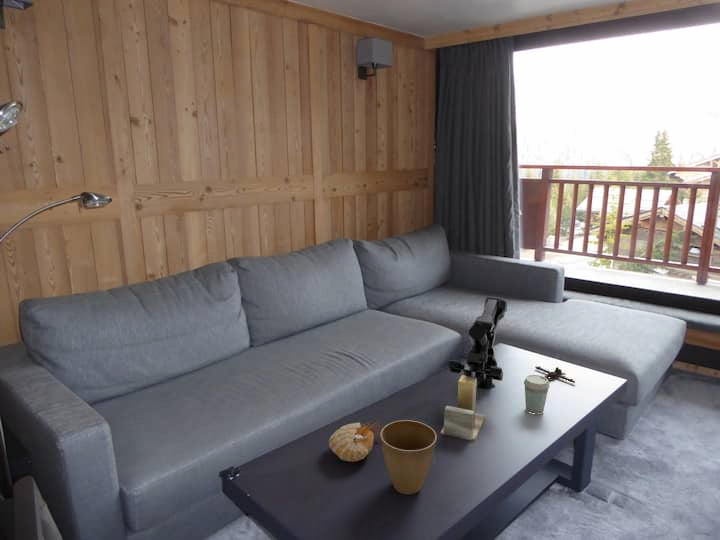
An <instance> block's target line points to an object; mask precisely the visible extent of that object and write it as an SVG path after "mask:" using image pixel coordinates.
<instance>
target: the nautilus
mask: <svg viewBox="0 0 720 540" xmlns="http://www.w3.org/2000/svg"><path fill="white" fill-rule="evenodd" d="M379 422H380V421H379V420H378V421H377V422H375V423H373V424H370V423H371V421H369V422H368V423H364V424H361V422H353V423H348V424H346V425H342V426H341V427H340V428H339V429H336V430H335V432H333V433H332V434H331V436H330V438H329V439H328V446H329V448H330V449H331V450H332V452H333V453H334V454H335V455H336V456H337V457H338V458H339V459H341V460H342V461H345V462H350V463H351V462H352V463H353V462H359V461H361V460H363V459H365V458H366V457H367V455H368V454H369V453H370V452H371V451H372V449H373V446H374V443H375V441H377V440H381V438H377V435H378V434H381V430H382V429H383V428H384V427H385V426H386V425H385V424H383V426H384V427H381V426H380V424H378V423H379ZM367 424H368V425H367ZM374 427H376V428H379V429H381V430H379V429H373V428H374ZM371 429H372V430H371ZM374 431H375V432H374ZM374 440H375V441H374ZM379 443H381V444H382V442H381V441H379Z"/></svg>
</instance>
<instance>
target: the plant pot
mask: <svg viewBox="0 0 720 540" xmlns="http://www.w3.org/2000/svg"><path fill="white" fill-rule="evenodd" d="M382 428H383V429H382ZM382 428H381V430H380V439H381V441H380V442H382V443H381V447H382V452H383V457H384V461H385V465H386V469H387V471H388V475H389V477H390V480H391V482H392V486H393V488H394V489H395V491H397V492H398V493H400V494H403V495H413V494H416V493H418V492H419V491H420V490H421V488H422V486H423V484H424V482H425V480H426V478H427V475H428V473H429V469H430V466H431V463H432V459H433V456H434V451H435V448H436V447H435V446H436V443H437V442H436V441H437V433H436V431H435V430H434V429H433V428H432V427H430V426H429V425H427V424H425V423H424V422H421V421H415V420H410V419H402V420H397V421H392V422H390V423H388V424H386V425H385V426H384V427H382Z"/></svg>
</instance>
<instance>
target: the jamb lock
mask: <svg viewBox="0 0 720 540" xmlns="http://www.w3.org/2000/svg"><path fill="white" fill-rule="evenodd" d="M443 418H444V419H443V427H442V428H441V430H440V434H441V435H444V436H445V435H446V436H450V437H454V438H459V439H462V440H465V441H466V440H467V441H471V442H475V441H476V439H477V436H478V435H479V432H480V431H481V427H482V425H483V423H484V421H485V419H484V418H486V414H482V413H476V412H475V413H474V411H471V410H466V409H461V408H457V407H456V406H450V405H446V406H445V408H444V416H443Z"/></svg>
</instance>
